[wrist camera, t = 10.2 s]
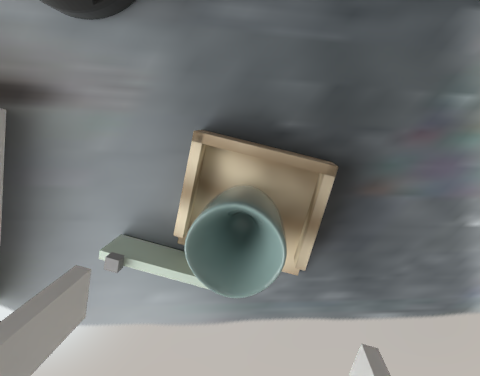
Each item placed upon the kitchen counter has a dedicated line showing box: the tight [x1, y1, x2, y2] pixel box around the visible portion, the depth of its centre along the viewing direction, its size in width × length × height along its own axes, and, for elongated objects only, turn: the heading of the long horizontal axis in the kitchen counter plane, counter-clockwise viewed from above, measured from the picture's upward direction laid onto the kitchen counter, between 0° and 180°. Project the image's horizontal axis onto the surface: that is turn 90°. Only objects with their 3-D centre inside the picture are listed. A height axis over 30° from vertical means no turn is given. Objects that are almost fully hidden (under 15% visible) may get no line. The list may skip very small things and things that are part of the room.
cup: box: [184, 185, 287, 298], centre depth 27 cm, size 8×8×10 cm
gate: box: [99, 234, 208, 289], centre depth 32 cm, size 1×12×6 cm, turn 77°
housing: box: [174, 130, 338, 276], centre depth 31 cm, size 13×14×4 cm
